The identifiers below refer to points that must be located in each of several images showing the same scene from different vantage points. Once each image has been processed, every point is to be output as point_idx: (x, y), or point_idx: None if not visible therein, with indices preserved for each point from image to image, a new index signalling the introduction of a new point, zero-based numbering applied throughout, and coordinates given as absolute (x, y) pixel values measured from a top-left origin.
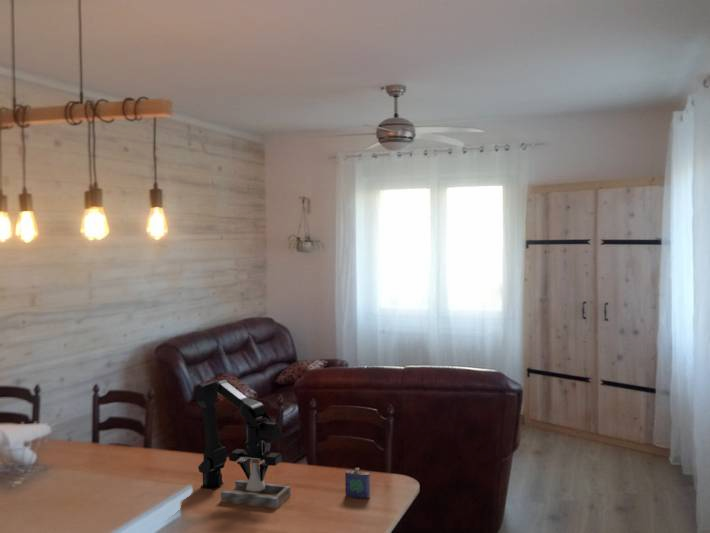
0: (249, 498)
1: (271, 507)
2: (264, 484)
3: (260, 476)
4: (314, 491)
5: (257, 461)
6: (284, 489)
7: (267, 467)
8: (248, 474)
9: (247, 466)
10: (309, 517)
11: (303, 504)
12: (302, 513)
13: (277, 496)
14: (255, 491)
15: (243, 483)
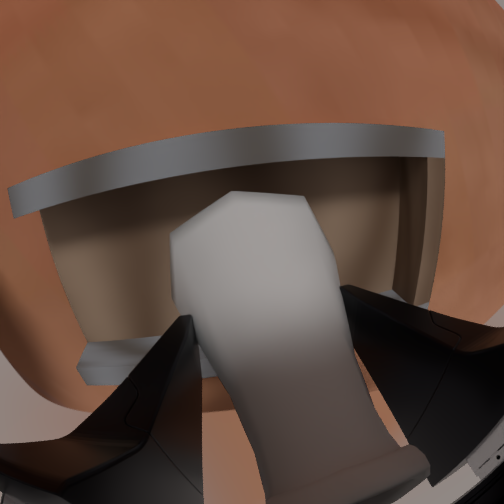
0: None
1: None
2: (322, 235)
3: (366, 362)
4: (457, 65)
5: (375, 477)
6: (434, 191)
7: (478, 336)
8: (197, 384)
9: (182, 472)
10: (484, 288)
11: (468, 208)
12: (471, 276)
13: (424, 294)
14: (194, 189)
15: (69, 199)
